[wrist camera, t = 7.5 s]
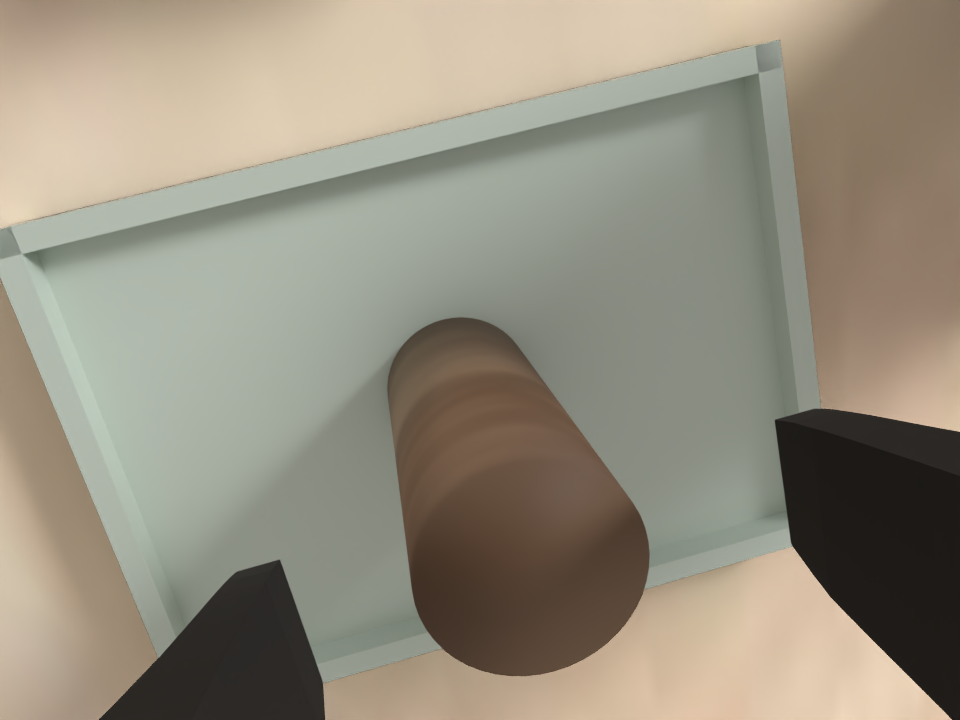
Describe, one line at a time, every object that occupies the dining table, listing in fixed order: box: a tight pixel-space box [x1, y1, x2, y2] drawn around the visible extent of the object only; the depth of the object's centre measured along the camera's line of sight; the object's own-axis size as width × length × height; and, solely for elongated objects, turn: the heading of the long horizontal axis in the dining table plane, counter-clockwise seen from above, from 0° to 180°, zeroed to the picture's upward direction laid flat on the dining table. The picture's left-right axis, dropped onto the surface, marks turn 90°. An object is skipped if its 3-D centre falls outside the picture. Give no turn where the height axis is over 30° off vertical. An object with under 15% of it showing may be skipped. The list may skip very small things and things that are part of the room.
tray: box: [0, 40, 821, 683], centre depth 21 cm, size 18×13×2 cm
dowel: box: [387, 317, 650, 676], centre depth 17 cm, size 4×4×9 cm
